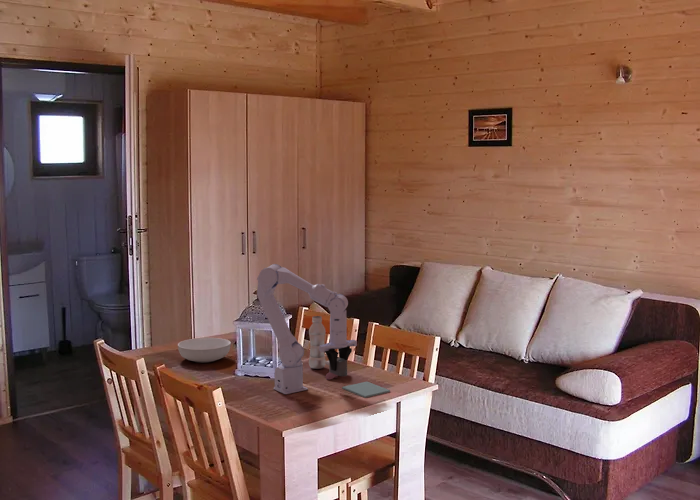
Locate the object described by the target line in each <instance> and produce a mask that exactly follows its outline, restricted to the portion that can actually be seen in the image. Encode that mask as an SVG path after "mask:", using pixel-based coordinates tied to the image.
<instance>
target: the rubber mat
mask: <svg viewBox="0 0 700 500" xmlns="http://www.w3.org/2000/svg"><path fill="white" fill-rule="evenodd" d="M341 388H342V389H343V390H345V391H347V392H350V393H352V394H354V395H357V396H360V397H362V398H370V397H374V396H379V395H383V394H386V393H387V394H388V393H391V390H390V389H387V388H385V387H382V386H380V385H377V384H374V383H372V382H370V381H363V382H359V383H354V384H349V385H345V386H342V387H341Z"/></svg>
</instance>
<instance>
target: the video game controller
mask: <svg viewBox="0 0 700 500" xmlns="http://www.w3.org/2000/svg"><path fill="white" fill-rule="evenodd" d="M338 377H339V376H338V375H335V374H333V373H330V372H329V371H328V373H326V375H325V379H326V380H332V379H334V378H335V379H337V378H338Z"/></svg>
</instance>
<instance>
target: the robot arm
mask: <svg viewBox="0 0 700 500" xmlns="http://www.w3.org/2000/svg"><path fill="white" fill-rule="evenodd" d="M256 280H257V290H256V295H257V298H258V301H259V303H260V306H261V307H262V309H263V312H264V314H265V316H266V318H267V320H268V323H269V324H270V326H271V329H272V331H273V333H274V335H275V338H276V340H277V343H278V347H277V348H278V349H277V350H278V352H279V354H280V355H279V359H280V362H281V365H280V366H278V367H277V366H276V368H275V369H274V387H273V390H275V391H277V392H279V393H281V394H283V395H289V394H292V393H294V394H295V393H298V392H302V391H304V392H305V391H308V390H309V388H308V387H306V386H304V378H303V377H304V374H303V373H304V372H303V371H304V369H303V366H304V365H303V361H302V358H303V357H304V354H305V348H304V347H303V345H302V344H300V343H299V342H298V340H297V338H296V337H295V336H294V335H293V334H292V332H291V330H290V327H289V325H288V323H287V322H286V319H285V317H284V315H283V312H282V311H281V308H280V306H279V303H278V302H277V299H276V297H275V295H274V293H275V290H276V288H277V285H284V284H288V285H291V286H293V287H295V288H297V289H298V290H301V291H303V292H305V293H307V294H308V295H309V298H310V300H312V301H314V302H316V303H318V304H320V305H322V306H324V307H325V308H328V311H329V312H330V313H329V316H330V317H329V342H327V343H324V345H320V346H319V351H321V352H324V354H325V355H326V357H327V359H328V361H329V362H330V366H331V370H333V371H336V369H337V357H339V358H342V359H345V360H347V361H348V360H349V357H350V356H351V353H352V351H353V349H352V347H357V346H358V341H357V340H356V339H347V338H348V337H347V335H348V333H347V332H348V331H347V330H348V329H347V328H348V327H347V326H348V325H347V324H348V322H347V321H348V317H347V307H348V305H349V301H348V298H347V297H346V296H345V295H344V294H343V293H338V292H337V291H334V290H331V289H328V288H327V287H326V284H324V283H321V284H320V283H316V284H313V283H310V282H309V281H307V280H306V279H304V278H302V277H301V276H299V275H297V274H296V273H294V272H293V271H291V270H289V269H288V268H287V267H284V266H281V265H279V264H277V263H273V264H271V265H269V266H267V267H264V268H263V269H261V270H260V271H259V273H258V275H257V279H256Z"/></svg>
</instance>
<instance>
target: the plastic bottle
mask: <svg viewBox="0 0 700 500" xmlns="http://www.w3.org/2000/svg"><path fill="white" fill-rule="evenodd" d="M322 322H323V317H322V316H321V315H316V316H315V315H314V316H312V320H311V323H312V324H311V325H310V326H309V329H308V336H309V341H310V342H309V345H310V350H309V357H308V358H309V359H308V365H309V367H310V368H311V369H314V370H319V369H323V368H325V367H326V364H325V361H327V360H326V356H325V355H326V353H325V352H321V351H319V346H320V345H324V344H325V338H326V332H327V331H326V327H325V326H324V324H323V323H322Z"/></svg>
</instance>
